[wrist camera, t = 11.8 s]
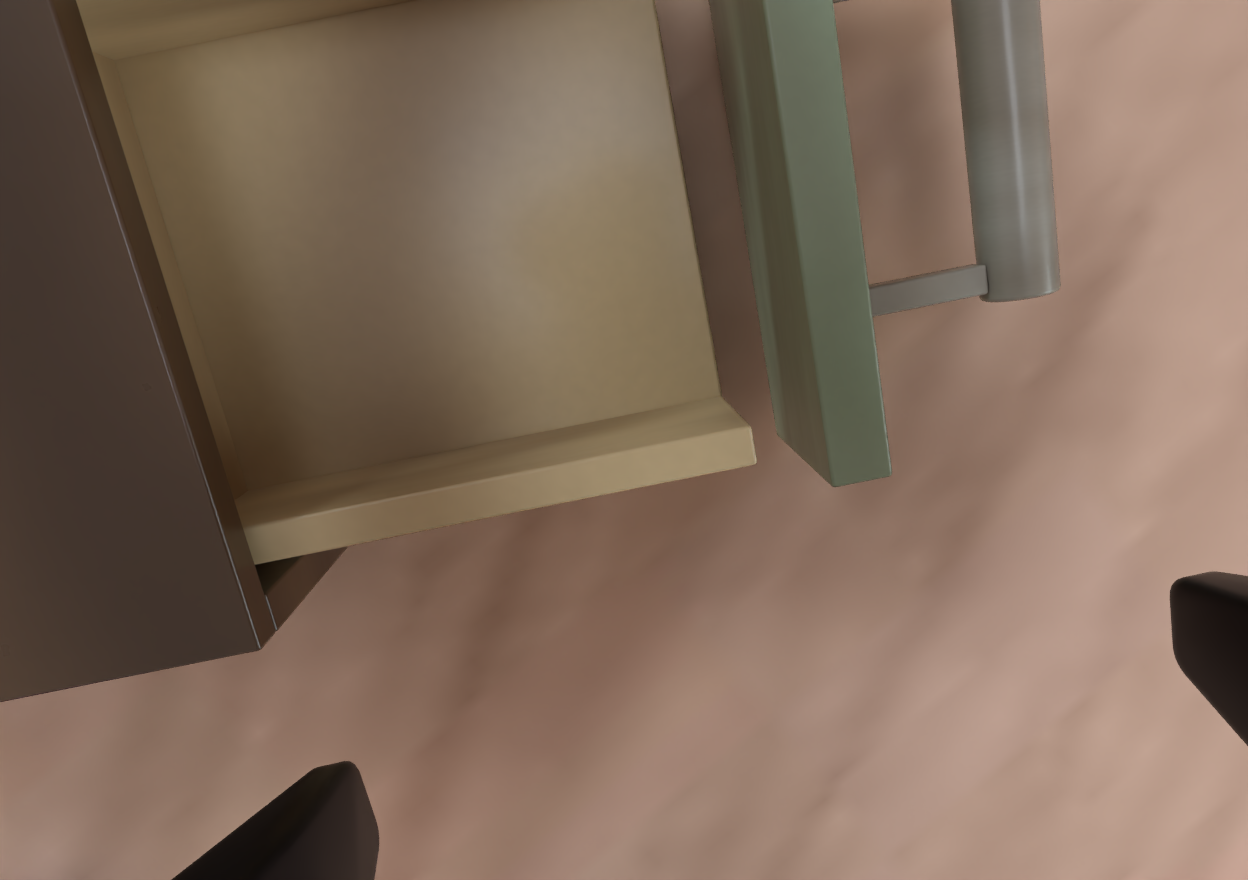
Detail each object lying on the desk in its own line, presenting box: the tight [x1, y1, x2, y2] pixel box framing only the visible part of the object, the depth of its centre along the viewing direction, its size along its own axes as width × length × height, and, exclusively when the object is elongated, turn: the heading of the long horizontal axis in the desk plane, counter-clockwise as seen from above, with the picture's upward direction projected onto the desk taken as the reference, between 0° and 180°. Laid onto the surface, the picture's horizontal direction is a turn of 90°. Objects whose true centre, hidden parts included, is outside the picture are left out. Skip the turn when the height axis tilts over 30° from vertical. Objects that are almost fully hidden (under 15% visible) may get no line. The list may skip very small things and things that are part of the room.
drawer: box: [76, 0, 1061, 565], centre depth 17 cm, size 19×12×5 cm, turn 101°
